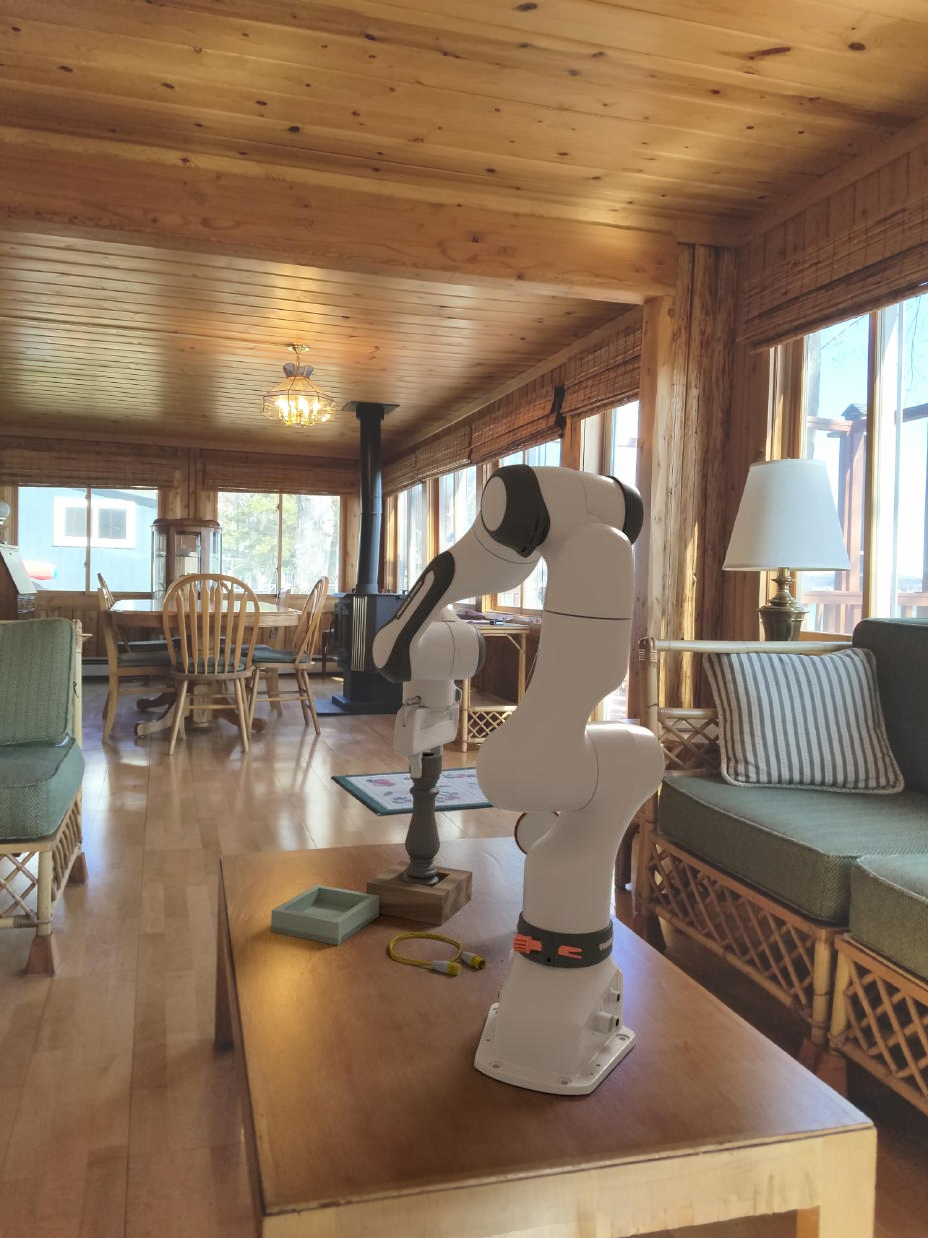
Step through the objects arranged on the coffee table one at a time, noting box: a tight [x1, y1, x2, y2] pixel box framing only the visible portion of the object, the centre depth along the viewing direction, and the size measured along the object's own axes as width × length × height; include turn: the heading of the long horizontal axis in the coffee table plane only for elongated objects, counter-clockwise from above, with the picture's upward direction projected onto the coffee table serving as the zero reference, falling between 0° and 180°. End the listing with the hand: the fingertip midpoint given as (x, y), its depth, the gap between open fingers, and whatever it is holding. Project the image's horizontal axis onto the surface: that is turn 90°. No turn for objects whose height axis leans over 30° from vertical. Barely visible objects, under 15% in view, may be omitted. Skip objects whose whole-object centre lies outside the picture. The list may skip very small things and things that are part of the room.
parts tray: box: [270, 884, 380, 946], centre depth 146 cm, size 14×12×4 cm
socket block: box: [365, 860, 473, 926], centre depth 157 cm, size 14×14×5 cm
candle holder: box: [403, 751, 443, 887], centre depth 156 cm, size 6×6×25 cm
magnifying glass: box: [513, 811, 560, 856], centre depth 149 cm, size 9×2×20 cm, turn 102°
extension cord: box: [388, 931, 487, 976], centre depth 135 cm, size 12×16×2 cm
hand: (425, 773), depth 156 cm, fingers closed on candle holder, 6 cm apart
